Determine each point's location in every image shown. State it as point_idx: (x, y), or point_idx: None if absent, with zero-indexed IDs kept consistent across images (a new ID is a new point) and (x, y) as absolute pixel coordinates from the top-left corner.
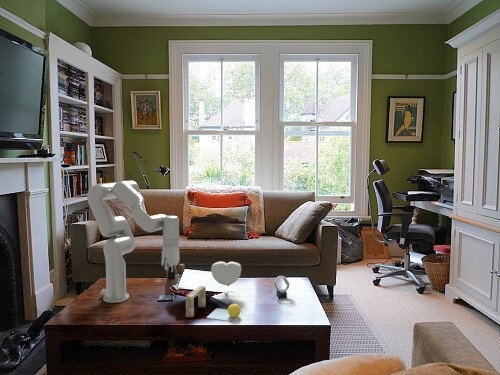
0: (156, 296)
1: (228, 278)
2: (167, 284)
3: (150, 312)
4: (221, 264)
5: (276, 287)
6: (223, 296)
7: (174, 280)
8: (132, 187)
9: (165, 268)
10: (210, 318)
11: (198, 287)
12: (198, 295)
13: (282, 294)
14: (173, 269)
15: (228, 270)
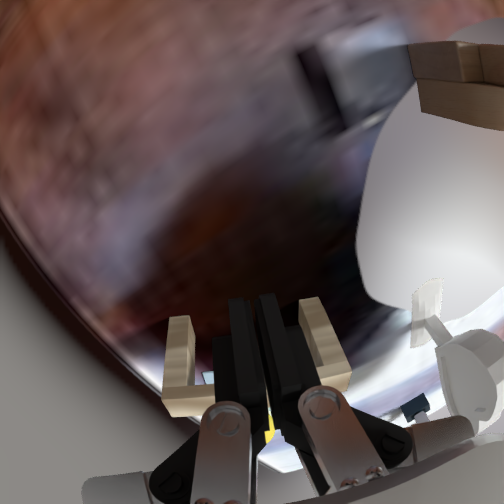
0: (361, 8)
1: (454, 377)
2: (451, 60)
3: (112, 132)
4: (486, 415)
5: (417, 422)
6: (417, 317)
7: (483, 111)
8: None
9: (91, 500)
10: (205, 381)
11: (324, 380)
12: (314, 341)
13: (405, 417)
14: (298, 444)
15: (470, 402)
